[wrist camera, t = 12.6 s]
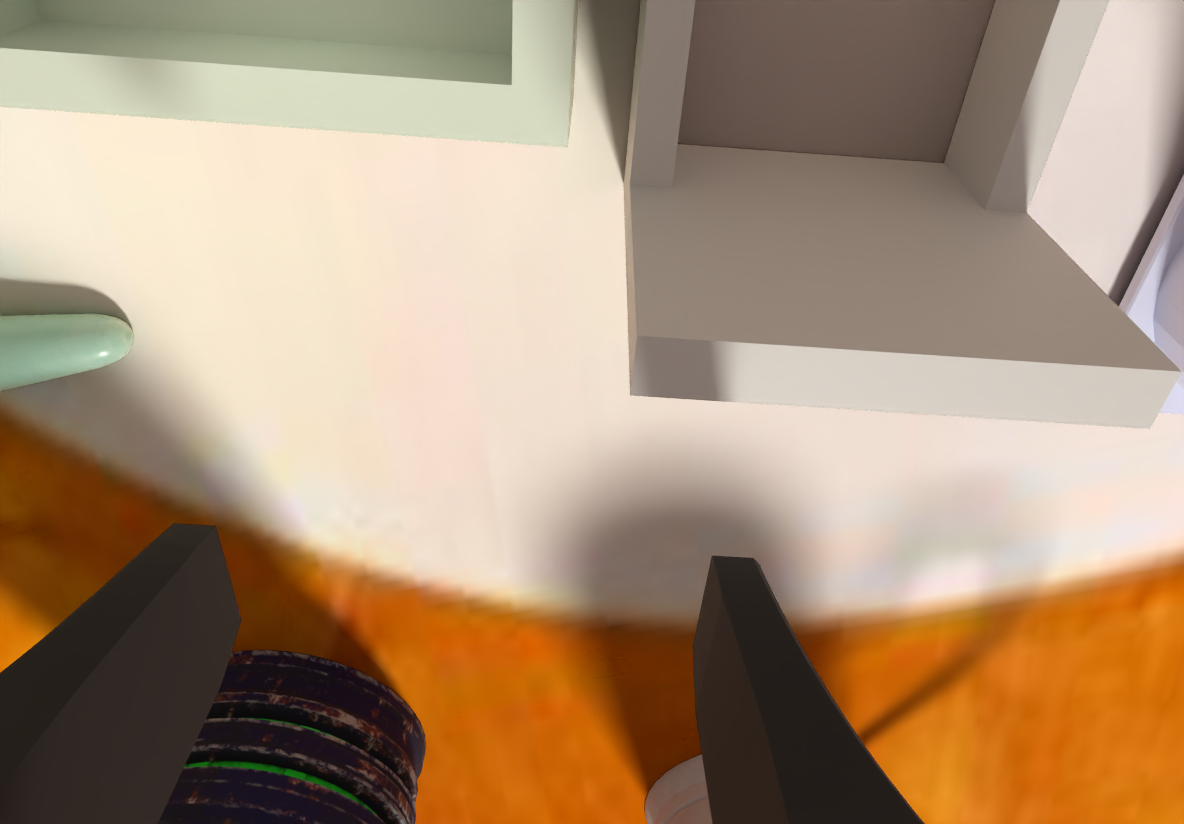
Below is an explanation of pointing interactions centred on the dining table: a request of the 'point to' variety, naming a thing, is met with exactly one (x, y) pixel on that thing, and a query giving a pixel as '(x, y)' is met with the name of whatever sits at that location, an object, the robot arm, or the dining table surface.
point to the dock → (877, 254)
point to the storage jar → (300, 748)
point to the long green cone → (58, 346)
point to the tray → (302, 63)
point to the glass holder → (680, 796)
